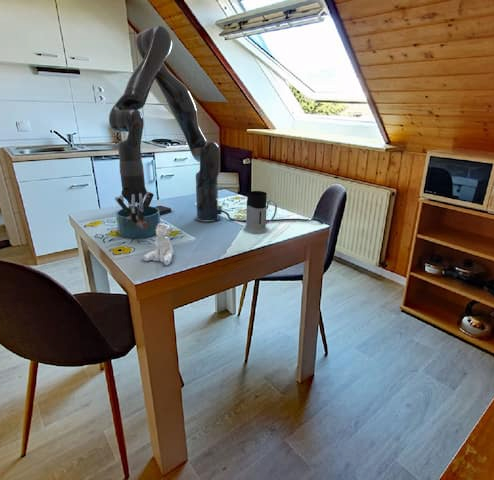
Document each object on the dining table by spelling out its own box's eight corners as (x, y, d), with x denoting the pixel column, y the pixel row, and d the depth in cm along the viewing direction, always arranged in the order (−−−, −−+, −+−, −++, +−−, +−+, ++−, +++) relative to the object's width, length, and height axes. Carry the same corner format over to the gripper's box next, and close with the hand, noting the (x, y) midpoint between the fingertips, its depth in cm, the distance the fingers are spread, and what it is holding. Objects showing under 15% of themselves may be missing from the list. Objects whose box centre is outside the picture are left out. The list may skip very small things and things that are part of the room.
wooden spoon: (151, 227, 117) (151, 221, 116) (139, 230, 115) (138, 224, 114) (136, 217, 127) (136, 212, 126) (125, 220, 124) (124, 214, 124)
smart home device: (171, 208, 161) (136, 218, 146) (172, 211, 161) (136, 222, 147) (160, 204, 165) (124, 214, 151) (160, 208, 166) (125, 218, 151)
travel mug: (254, 224, 145) (256, 189, 140) (281, 233, 136) (284, 195, 130) (240, 229, 139) (241, 193, 134) (267, 238, 130) (269, 200, 124)
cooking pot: (164, 224, 144) (163, 206, 141) (154, 238, 129) (153, 218, 126) (126, 223, 145) (124, 205, 142) (112, 237, 130) (109, 217, 127)
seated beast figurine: (142, 261, 111) (139, 225, 106) (157, 251, 118) (154, 217, 114) (168, 266, 108) (165, 229, 103) (181, 255, 115) (179, 221, 111)
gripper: (115, 177, 108) (122, 229, 114) (156, 172, 115) (160, 221, 122) (107, 173, 113) (114, 223, 120) (146, 168, 121) (151, 215, 127)
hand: (137, 222), depth 121 cm, fingers closed on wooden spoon, 1 cm apart
